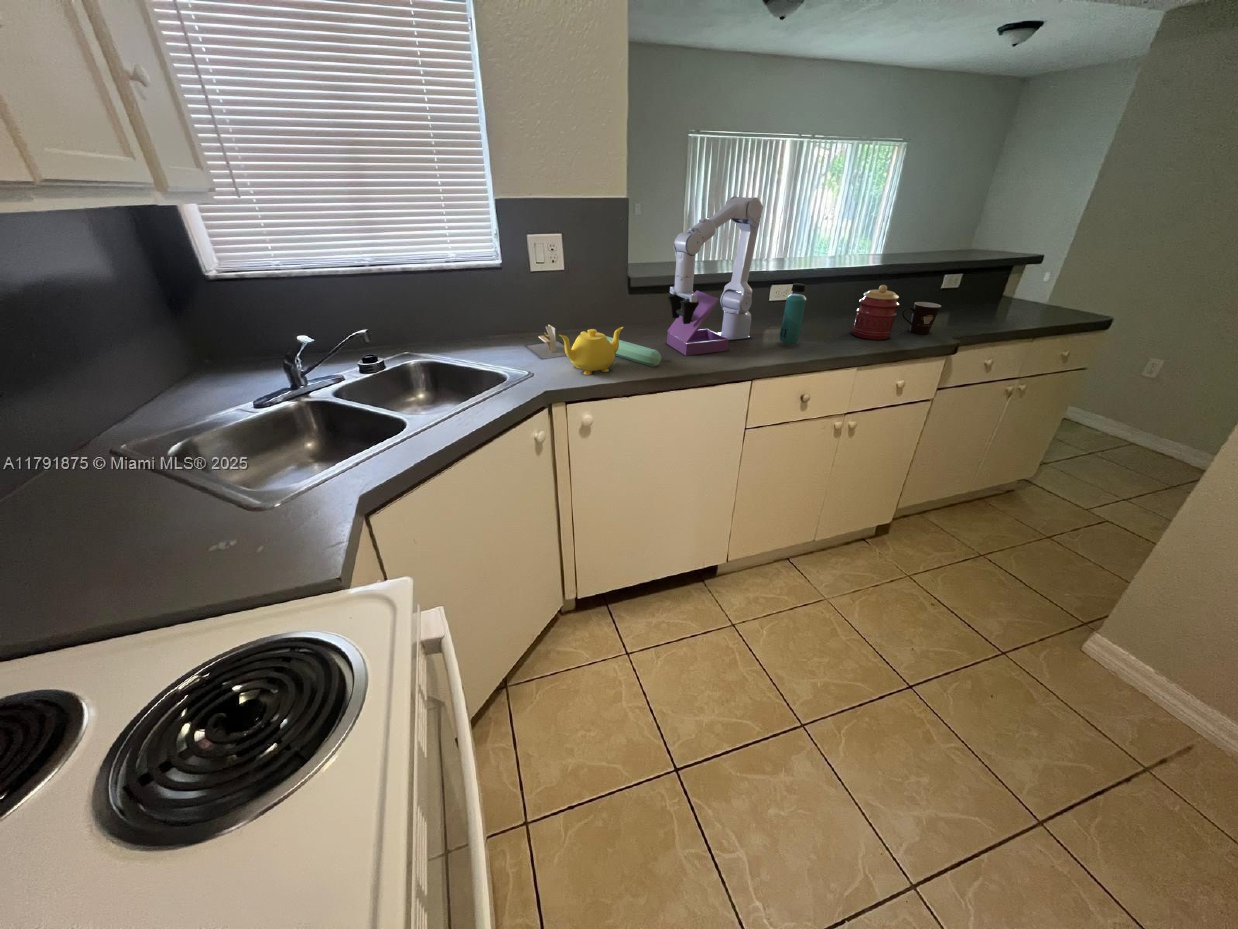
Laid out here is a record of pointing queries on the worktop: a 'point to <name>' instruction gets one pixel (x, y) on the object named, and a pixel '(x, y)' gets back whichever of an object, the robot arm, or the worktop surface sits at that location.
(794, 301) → the beverage bottle
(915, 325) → the coffee mug
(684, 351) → the purple box base
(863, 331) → the kitchen canister
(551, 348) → the architectural model
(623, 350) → the container
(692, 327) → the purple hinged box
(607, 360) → the teapot
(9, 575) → the worktop surface
